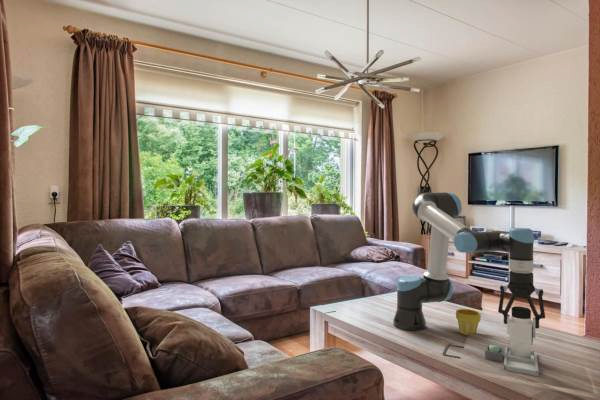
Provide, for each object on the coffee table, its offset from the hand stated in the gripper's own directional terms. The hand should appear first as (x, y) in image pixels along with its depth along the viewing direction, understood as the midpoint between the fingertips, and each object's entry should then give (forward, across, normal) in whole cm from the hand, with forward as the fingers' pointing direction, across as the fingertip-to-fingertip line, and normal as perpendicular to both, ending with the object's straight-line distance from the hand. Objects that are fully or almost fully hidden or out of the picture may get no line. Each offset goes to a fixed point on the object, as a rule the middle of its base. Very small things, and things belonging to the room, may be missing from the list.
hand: (521, 334), depth 141 cm
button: (+10, -9, +5) cm, 15 cm away
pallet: (+13, -3, +5) cm, 14 cm away
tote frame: (+13, -21, +7) cm, 25 cm away
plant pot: (+13, -21, +32) cm, 40 cm away
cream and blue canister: (+12, 0, +10) cm, 15 cm away
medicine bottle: (+2, 0, 0) cm, 2 cm away
